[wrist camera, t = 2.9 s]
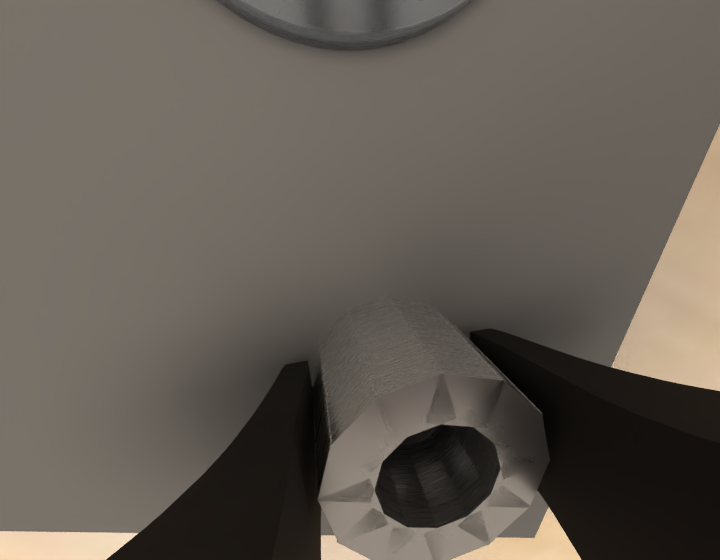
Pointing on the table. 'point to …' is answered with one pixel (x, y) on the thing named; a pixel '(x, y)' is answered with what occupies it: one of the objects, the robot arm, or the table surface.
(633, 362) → the table surface
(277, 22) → the hub
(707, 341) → the table surface
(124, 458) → the mat
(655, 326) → the table surface
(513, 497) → the ridged pipe fitting
